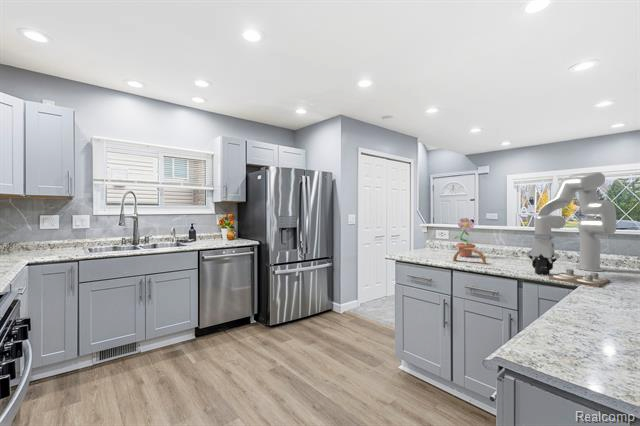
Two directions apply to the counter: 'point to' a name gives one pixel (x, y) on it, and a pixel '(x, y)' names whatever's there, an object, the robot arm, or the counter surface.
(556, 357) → the counter surface
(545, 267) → the supplement bottle
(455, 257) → the arch
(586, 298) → the counter surface
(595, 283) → the board
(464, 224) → the decorative flower
